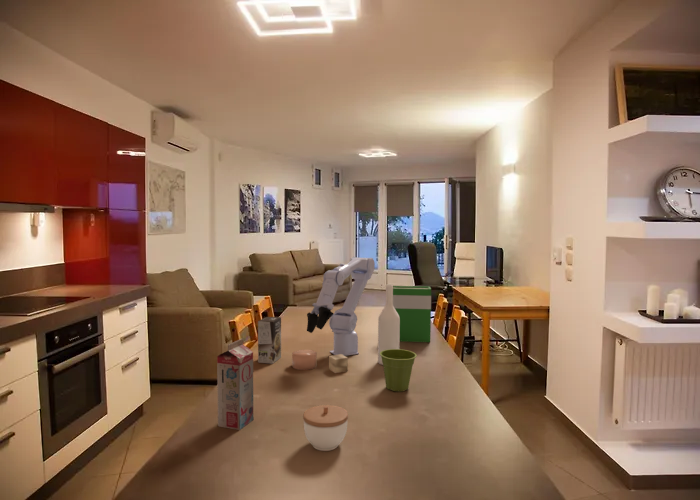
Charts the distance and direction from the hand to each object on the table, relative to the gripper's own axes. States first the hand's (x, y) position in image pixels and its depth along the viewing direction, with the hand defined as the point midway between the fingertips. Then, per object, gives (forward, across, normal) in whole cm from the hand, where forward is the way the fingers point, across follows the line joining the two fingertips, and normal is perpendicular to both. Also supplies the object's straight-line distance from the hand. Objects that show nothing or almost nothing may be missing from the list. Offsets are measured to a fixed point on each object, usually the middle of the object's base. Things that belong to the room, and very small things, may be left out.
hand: (314, 330), depth 169 cm
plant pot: (+14, +25, +25) cm, 38 cm away
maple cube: (+10, +1, +14) cm, 17 cm away
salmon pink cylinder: (+11, -9, +5) cm, 15 cm away
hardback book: (-24, -17, +53) cm, 60 cm away
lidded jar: (+42, +44, -4) cm, 60 cm away
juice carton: (+42, +22, -20) cm, 51 cm away
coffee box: (+11, -22, -4) cm, 25 cm away
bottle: (-1, +4, +32) cm, 32 cm away
